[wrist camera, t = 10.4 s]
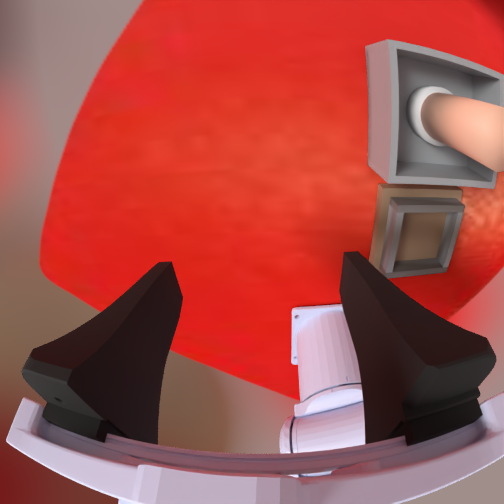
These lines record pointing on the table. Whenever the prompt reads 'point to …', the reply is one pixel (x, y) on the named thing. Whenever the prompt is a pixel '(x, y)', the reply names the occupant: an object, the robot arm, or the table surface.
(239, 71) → the table surface
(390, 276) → the square framed plate
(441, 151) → the bin
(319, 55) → the table surface
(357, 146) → the table surface
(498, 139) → the peach cylinder
